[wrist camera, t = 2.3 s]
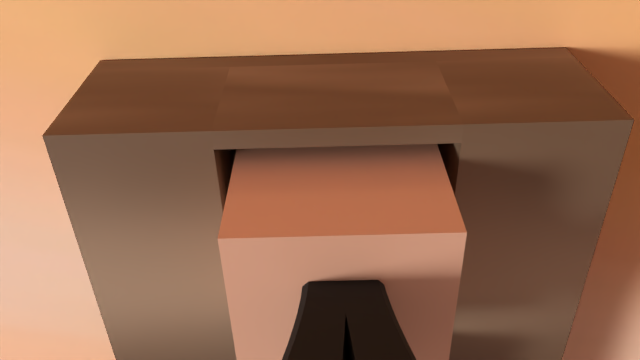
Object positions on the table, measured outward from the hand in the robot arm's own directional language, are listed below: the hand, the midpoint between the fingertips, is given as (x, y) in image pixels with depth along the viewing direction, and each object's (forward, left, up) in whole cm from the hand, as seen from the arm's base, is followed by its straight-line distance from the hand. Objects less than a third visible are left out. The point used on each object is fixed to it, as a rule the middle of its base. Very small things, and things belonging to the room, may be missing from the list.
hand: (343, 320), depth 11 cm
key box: (-5, 0, -6) cm, 8 cm away
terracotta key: (0, 0, -3) cm, 3 cm away
